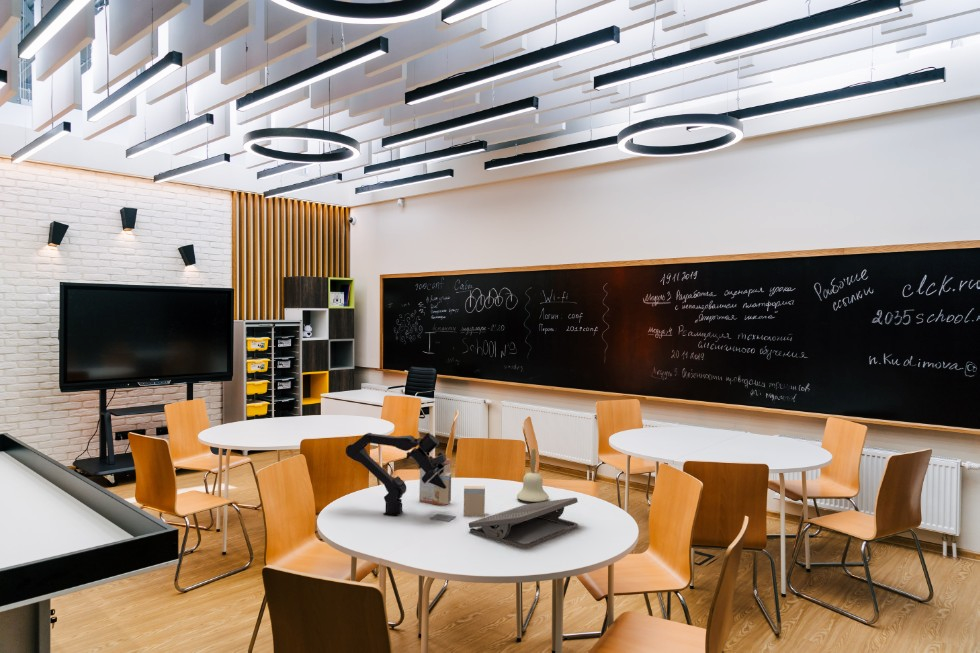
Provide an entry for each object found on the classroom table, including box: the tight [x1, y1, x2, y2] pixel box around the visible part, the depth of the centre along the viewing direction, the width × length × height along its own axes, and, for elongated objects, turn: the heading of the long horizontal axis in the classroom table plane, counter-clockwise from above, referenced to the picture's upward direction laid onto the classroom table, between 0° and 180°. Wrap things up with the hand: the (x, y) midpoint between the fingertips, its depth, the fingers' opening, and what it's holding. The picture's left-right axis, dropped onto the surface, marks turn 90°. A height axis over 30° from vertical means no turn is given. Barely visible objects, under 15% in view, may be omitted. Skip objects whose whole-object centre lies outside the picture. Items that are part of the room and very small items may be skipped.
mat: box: [429, 513, 457, 523], centre depth 272 cm, size 9×7×1 cm
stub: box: [439, 472, 452, 505], centre depth 272 cm, size 4×5×12 cm
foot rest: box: [468, 497, 579, 550], centre depth 259 cm, size 39×30×13 cm
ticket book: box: [463, 485, 486, 517], centre depth 277 cm, size 9×5×12 cm, turn 91°
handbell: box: [516, 447, 549, 503], centre depth 301 cm, size 15×15×25 cm
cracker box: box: [418, 455, 452, 507], centre depth 295 cm, size 14×6×21 cm, turn 58°
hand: (447, 486), depth 272 cm, fingers closed on stub, 4 cm apart
